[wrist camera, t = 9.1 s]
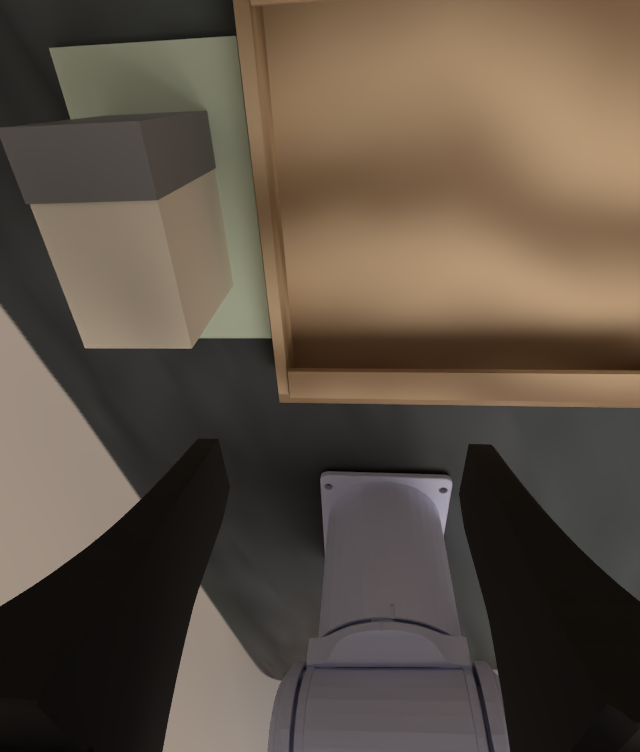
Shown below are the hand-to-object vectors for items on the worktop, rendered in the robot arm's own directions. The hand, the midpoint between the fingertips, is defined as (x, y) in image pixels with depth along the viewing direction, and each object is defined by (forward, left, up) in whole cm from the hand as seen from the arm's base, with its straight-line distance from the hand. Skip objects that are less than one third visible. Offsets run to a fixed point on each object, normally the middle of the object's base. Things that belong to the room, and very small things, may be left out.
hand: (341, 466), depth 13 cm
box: (+5, +7, -10) cm, 13 cm away
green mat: (+5, +7, -10) cm, 14 cm away
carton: (+5, -6, -10) cm, 13 cm away
